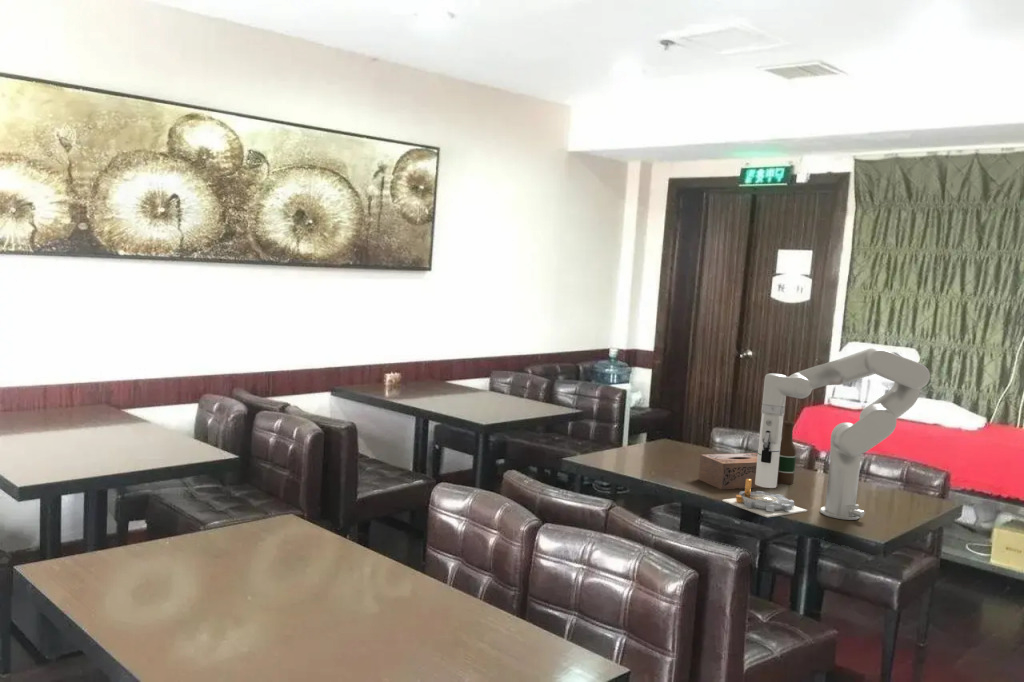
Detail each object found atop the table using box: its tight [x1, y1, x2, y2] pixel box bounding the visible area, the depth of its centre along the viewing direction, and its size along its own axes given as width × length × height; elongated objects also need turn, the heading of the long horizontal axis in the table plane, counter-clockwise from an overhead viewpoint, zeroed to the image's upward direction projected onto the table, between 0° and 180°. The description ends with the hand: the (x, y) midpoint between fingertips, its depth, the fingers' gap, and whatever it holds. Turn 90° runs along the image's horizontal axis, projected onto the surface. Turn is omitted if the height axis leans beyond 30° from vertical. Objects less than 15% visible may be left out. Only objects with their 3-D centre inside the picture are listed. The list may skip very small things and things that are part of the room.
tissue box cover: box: [698, 452, 779, 490], centre depth 316 cm, size 26×14×10 cm, turn 111°
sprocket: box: [735, 479, 795, 512], centre depth 284 cm, size 19×19×8 cm
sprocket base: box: [722, 497, 808, 518], centre depth 285 cm, size 20×20×1 cm
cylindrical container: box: [755, 413, 784, 489], centre depth 283 cm, size 7×7×25 cm
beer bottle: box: [778, 420, 797, 485], centre depth 322 cm, size 8×8×24 cm
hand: (768, 460), depth 284 cm, fingers closed on cylindrical container, 7 cm apart
